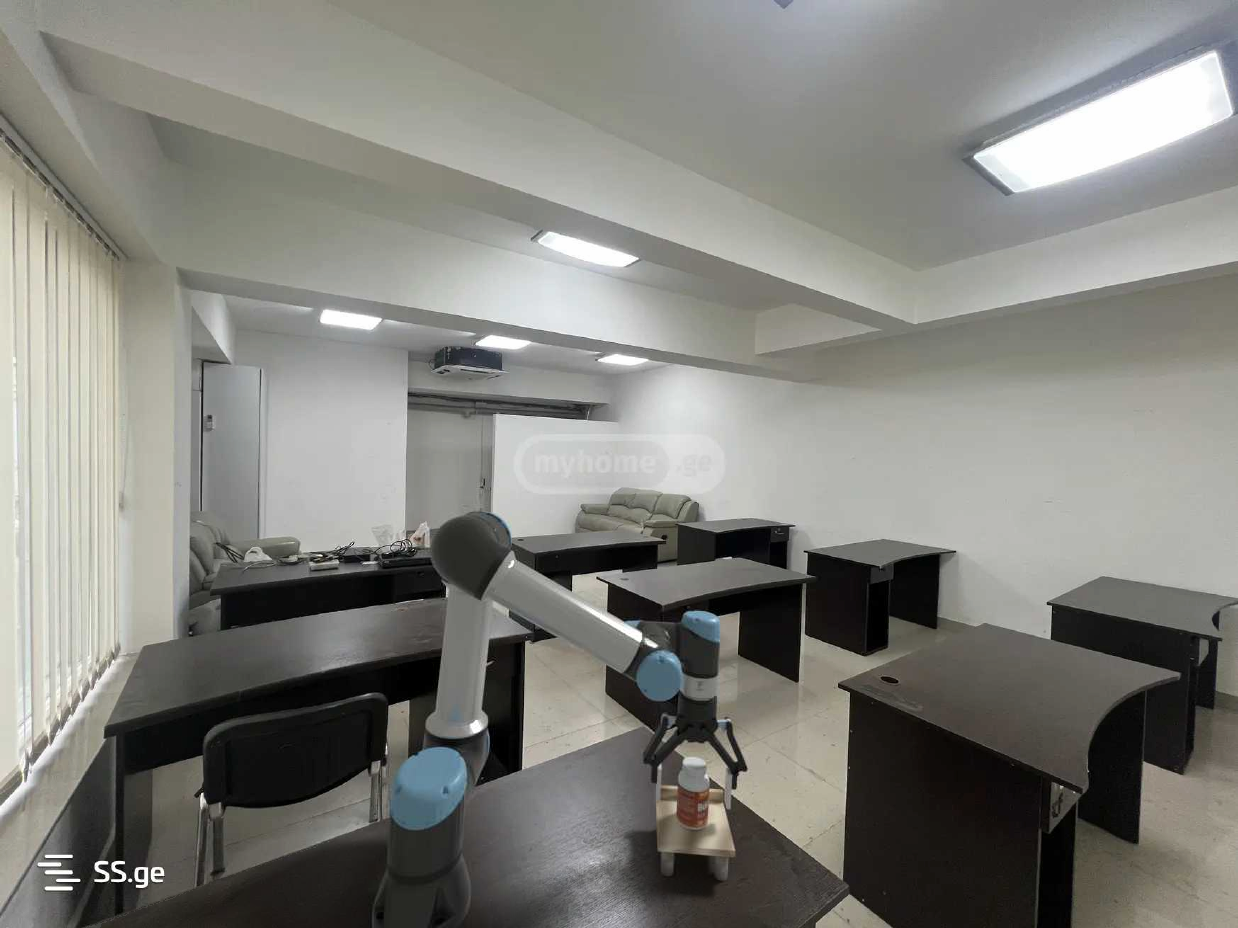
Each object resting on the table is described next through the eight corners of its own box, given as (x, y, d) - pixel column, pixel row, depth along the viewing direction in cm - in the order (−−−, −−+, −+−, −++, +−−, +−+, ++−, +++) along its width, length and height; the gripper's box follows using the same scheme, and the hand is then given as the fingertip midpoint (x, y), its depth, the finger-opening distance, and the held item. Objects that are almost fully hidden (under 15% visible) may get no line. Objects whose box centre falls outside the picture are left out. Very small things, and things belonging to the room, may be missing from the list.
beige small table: (656, 878, 89) (658, 833, 89) (654, 823, 103) (656, 784, 103) (733, 885, 89) (735, 839, 89) (721, 828, 103) (722, 789, 103)
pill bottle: (701, 836, 92) (704, 776, 92) (671, 823, 95) (673, 765, 95) (712, 816, 97) (714, 760, 97) (683, 805, 100) (685, 750, 100)
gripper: (634, 696, 93) (628, 809, 93) (766, 706, 92) (761, 820, 92) (635, 680, 101) (629, 783, 100) (757, 688, 100) (752, 794, 99)
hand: (692, 801), depth 96 cm, fingers open, 13 cm apart
